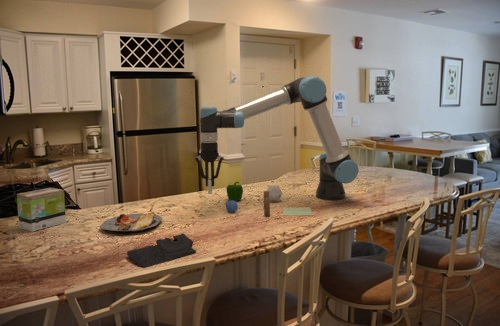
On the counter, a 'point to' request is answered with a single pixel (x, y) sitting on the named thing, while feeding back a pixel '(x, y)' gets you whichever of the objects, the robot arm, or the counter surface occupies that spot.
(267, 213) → the gate post
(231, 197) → the bell pepper
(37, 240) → the counter surface
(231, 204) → the ball
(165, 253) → the stepped dark grey slab
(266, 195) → the gate post
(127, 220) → the food plate
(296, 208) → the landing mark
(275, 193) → the die
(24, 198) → the tea box
